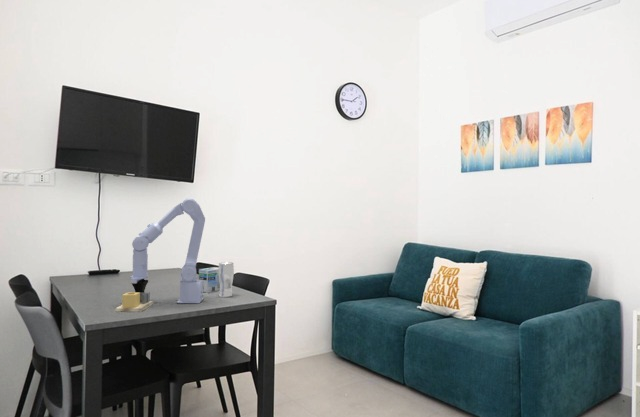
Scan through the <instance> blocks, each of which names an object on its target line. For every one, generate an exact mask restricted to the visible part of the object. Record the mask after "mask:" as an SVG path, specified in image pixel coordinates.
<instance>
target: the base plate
mask: <svg viewBox="0 0 640 417" xmlns="http://www.w3.org/2000/svg"><path fill="white" fill-rule="evenodd" d="M153 302H154V301H153V300H150V301H149V302H146V303H142V302H140V305H139V306H137V307H136V308H122V304H121V305H119V306H117V307H115V309H114V311H115V313H117V312H118V313H119V312H123V313H125V312H132V313H133V312H138V313H139V312H143V311H144V310H146V309H148V308H149V307H151V306H152V305H153Z"/></svg>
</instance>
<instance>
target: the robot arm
mask: <svg viewBox="0 0 640 417" xmlns="http://www.w3.org/2000/svg"><path fill="white" fill-rule="evenodd" d="M184 213H185V214H187V215H188V216H189V218H190V219H191V220H192V221H193V226H192V230H191V236H190V239H189V244H188V248H187V253H186V258H185V263H184V265H183V266H182V267H181V272H180V277H181V278H180V280H179V299H178V300H177V302H176V304H200V303H202V301H203V300H204V292H203V282H202V281H199V279H198V278H197V261H198V257H199V251H200V246H201V242H202V238H203V234H204V233H203V232H204V229H205V223H206V217H205V215H204V213H203V210H202V208H201V206H200V204H199V203H198V202H197V200H195V199H194V198H186V199H184V200H182V202H180V203H178V204H177V205H175V206H174V207H172V209H171V210H169V212H167V213H166V215H164V216H163V217H162V218H161V219H160V220H159V221H158V222H153V223H151V224H148V225H147V227H146V228H145V230H143V231H142V232H139V233H138V236H136V237H135V238H134V239H133V240H132V243H131V245H132V248H133V250H132V275H130V276H129V279H131V280H130V284H131V285H132V287H133V289H134V292H146V291H145V290H146V287H147V285H148V283H149V280H148V279H149V273H148V263H149V262H148V247H149V244H152V243H153V242H154V241H155V240H157V239H158V238H159V236H161V235H162V234H163V233H164V231H163V230H164V228H165V227H166V226H167V225H168V224H169V223H170V222H172V221H173V220H174V219H175V218H176V217H178V216H181V215H184Z"/></svg>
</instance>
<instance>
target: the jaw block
mask: <svg viewBox="0 0 640 417" xmlns="http://www.w3.org/2000/svg"><path fill="white" fill-rule="evenodd" d="M121 305H122V308H136V307H137V306H139V305H140V292H135V291H134V292H131V291H129V292H126V293H124V294H122V297H121Z"/></svg>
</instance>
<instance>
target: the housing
mask: <svg viewBox="0 0 640 417" xmlns="http://www.w3.org/2000/svg"><path fill="white" fill-rule="evenodd" d="M150 298H151V293H150V292H148V291H147V292H146V291H144V292H140V302H142V303H146V302H149V301H151V299H150Z"/></svg>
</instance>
